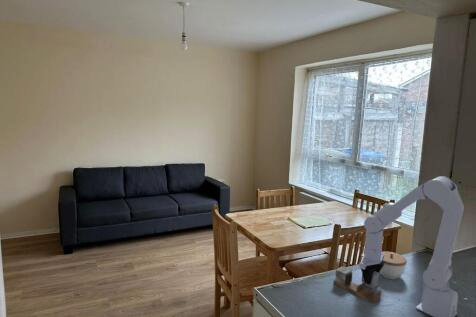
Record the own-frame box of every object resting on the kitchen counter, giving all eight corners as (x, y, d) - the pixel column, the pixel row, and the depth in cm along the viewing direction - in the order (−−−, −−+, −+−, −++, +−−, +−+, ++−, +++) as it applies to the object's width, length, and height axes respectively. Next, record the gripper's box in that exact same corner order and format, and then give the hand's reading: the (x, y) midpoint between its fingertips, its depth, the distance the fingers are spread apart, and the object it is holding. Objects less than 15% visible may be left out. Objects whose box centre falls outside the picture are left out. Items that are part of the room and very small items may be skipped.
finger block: (378, 285, 120) (379, 272, 119) (372, 288, 117) (373, 276, 117) (366, 280, 123) (367, 268, 122) (361, 283, 121) (362, 271, 120)
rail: (380, 298, 111) (381, 283, 110) (373, 303, 108) (375, 287, 107) (340, 279, 123) (341, 265, 123) (333, 283, 121) (334, 269, 120)
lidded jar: (397, 285, 120) (399, 262, 118) (370, 274, 128) (371, 252, 127) (409, 276, 127) (411, 254, 125) (383, 266, 135) (384, 245, 133)
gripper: (373, 238, 125) (370, 271, 127) (352, 248, 116) (350, 282, 118) (391, 244, 120) (388, 278, 122) (370, 255, 111) (367, 291, 113)
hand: (370, 281), depth 120 cm, fingers closed on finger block, 4 cm apart
